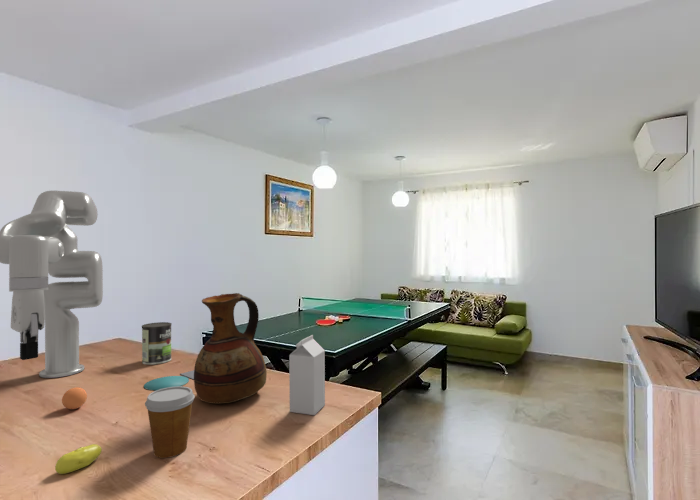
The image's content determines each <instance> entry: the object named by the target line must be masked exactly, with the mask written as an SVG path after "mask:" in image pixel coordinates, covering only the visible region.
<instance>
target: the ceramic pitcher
mask: <svg viewBox="0 0 700 500" xmlns="http://www.w3.org/2000/svg"><path fill="white" fill-rule="evenodd" d="M242 301H244V302H245V303H246V305H247V307H248V322H247V326H246V329H245V331H244V332H240V331H239V330H238V328H237V325H236V322H235V307H236V305H237V303H239V302H242ZM201 302H202V304H203V305H205V307H207V308H208V310H209V311H210V322H211V324H212V326H213V327H212V328H213V329H212V333H211V337H210V338H209V339H208V340H207V341H206V342H205V344H204V345H203V346H202V347H201V349H200V351H198V354H197V357H196V359H195V362H194V363H195V364H194V369H193V370H194V380H193V386H194V389H195V392H196V395H197V397H198V398H199V399H200V400H201V401H202V402H205V403H209V404H227V403H228V404H230V403H233V402H237V401H241V400H242V399H243V400H244V399H245V398H249V397H251V396H253V395H255V394H257V393H258V392H260V390H261V389H262V388H263V387H264V386H265V385H266V383H267V366H266V363H265V360H264V356H263V353H262V352H261V350H260V348H259V347H258V346H257V345H256V343H255V336H256V333H257V328H258V323H259V318H260V317H259V316H260V315H259V307H258V305H257V304H256V302H255V301H254V300H253V299H252V298H250V297H248V296H245V295H243V294H241V293H239V292H238V293H237V292H234V293H233V292H232V293H225V294H224V293H222V294H220V295H219V294H218V295H211V296H207V297H206V298H202V299H201Z"/></svg>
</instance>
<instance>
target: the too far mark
mask: <svg viewBox="0 0 700 500" xmlns="http://www.w3.org/2000/svg"><path fill="white" fill-rule="evenodd" d="M179 376H184V377H187V378H188V379H191V380H193V381H194V369H193V370H190V371H186V372H183V373H179Z"/></svg>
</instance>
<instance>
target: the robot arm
mask: <svg viewBox="0 0 700 500" xmlns="http://www.w3.org/2000/svg"><path fill="white" fill-rule="evenodd" d="M98 215H99V214H98V208H97V206H96V203H95V202H94V199H93V198H92V197H91V196H90V195H89V194H87V192H82V191H69V190H45V191H43V192H41V193H40V194H39V195H37V198H36V200H35V203H34V204H33V207H32V210H31V212H30V213H28V214H25V215H23V216H20V217H18V218H16V219H14V220H11V221H9V222H7V223H6V224H4V225H3V226H2V227H1V228H0V263H1V264H4V265H9V266H8V268H9V269H8V270H9V271H8V272H9V273H8V275H9V276H8V277H9V278H8V280H9V281H8V292H12V297H11V298H12V299H11V311H10V313H11V314H10V329H12V330H13V331H15V332H17V333H19V337H20V338H19V339H20V343H19V359H20V360H22V361H27V360H32V359H37V358H38V357H39V331H42V330H43V329H44V363H45V364H44V369H42V370H41V371H40V372H39V373H38V374H39V377H40V378H44V379H49V378H50V379H51V378H52V379H53V378H62V377H66V376H73V375H75V374H79V373H80V372H82V371H84V370H85V365H84V364H80V322H79V318H78V316H76V314H74V313H73V312H72V310H73V309H86V308H87V309H88V308H97V307H99V306H101V304H102V302H103V296H104V295H103V293H104V290H103V289H104V288H103V287H104V286H103V285H104V284H103V280H104V278H103V272H104V270H103V259H102V256H101V254H100V253H98V252H97V251H94V250H79V248H78V239H79V238H78V235H77V234H76V233H75V232H74V231H73V229H72V228H70V226H93V225H94V224H95V223H96V222H97V221H98ZM49 276H51V277H52V278H58V279H60V278H61V279H67V278H69V279H70V278H72V279H74V278H85V279H86V280H87V281H85V280H84V281H83V280H82V281H57V282H51V283H49Z"/></svg>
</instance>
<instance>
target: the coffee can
mask: <svg viewBox="0 0 700 500" xmlns="http://www.w3.org/2000/svg"><path fill="white" fill-rule="evenodd" d="M141 338H142V339H141V340H142V341H141V351H142V352H141V353H142V354H141V359H142V360H141V361H142V362H141V363H142V364H143V365H147V366H148V365H149V366H150V365H154V366H155V365H161V364H166V363H168V362H171V361H172V322H165V321H163V322H161V321H160V322H149V323H146V324H142V325H141Z"/></svg>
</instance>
